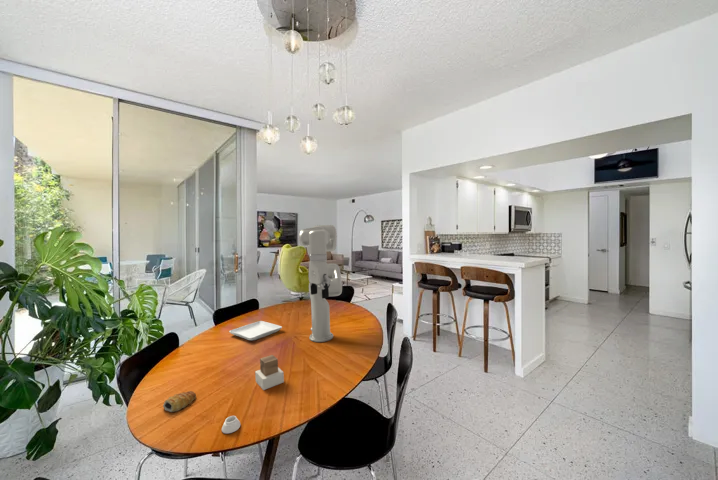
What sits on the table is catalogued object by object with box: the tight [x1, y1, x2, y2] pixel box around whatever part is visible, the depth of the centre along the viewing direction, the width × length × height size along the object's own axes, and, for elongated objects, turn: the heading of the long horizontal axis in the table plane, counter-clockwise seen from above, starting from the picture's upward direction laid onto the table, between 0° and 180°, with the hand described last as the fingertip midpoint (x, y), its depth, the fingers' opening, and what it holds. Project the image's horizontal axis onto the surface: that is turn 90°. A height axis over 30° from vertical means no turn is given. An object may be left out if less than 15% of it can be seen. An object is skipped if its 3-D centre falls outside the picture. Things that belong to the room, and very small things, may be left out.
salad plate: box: [228, 320, 283, 341], centre depth 161 cm, size 21×21×3 cm
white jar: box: [221, 415, 241, 434], centre depth 85 cm, size 5×3×5 cm
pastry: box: [162, 390, 197, 413], centre depth 97 cm, size 9×7×4 cm
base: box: [254, 367, 285, 391], centre depth 110 cm, size 8×8×4 cm
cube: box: [259, 354, 279, 376], centre depth 110 cm, size 5×5×5 cm
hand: (319, 295), depth 128 cm, fingers open, 9 cm apart
